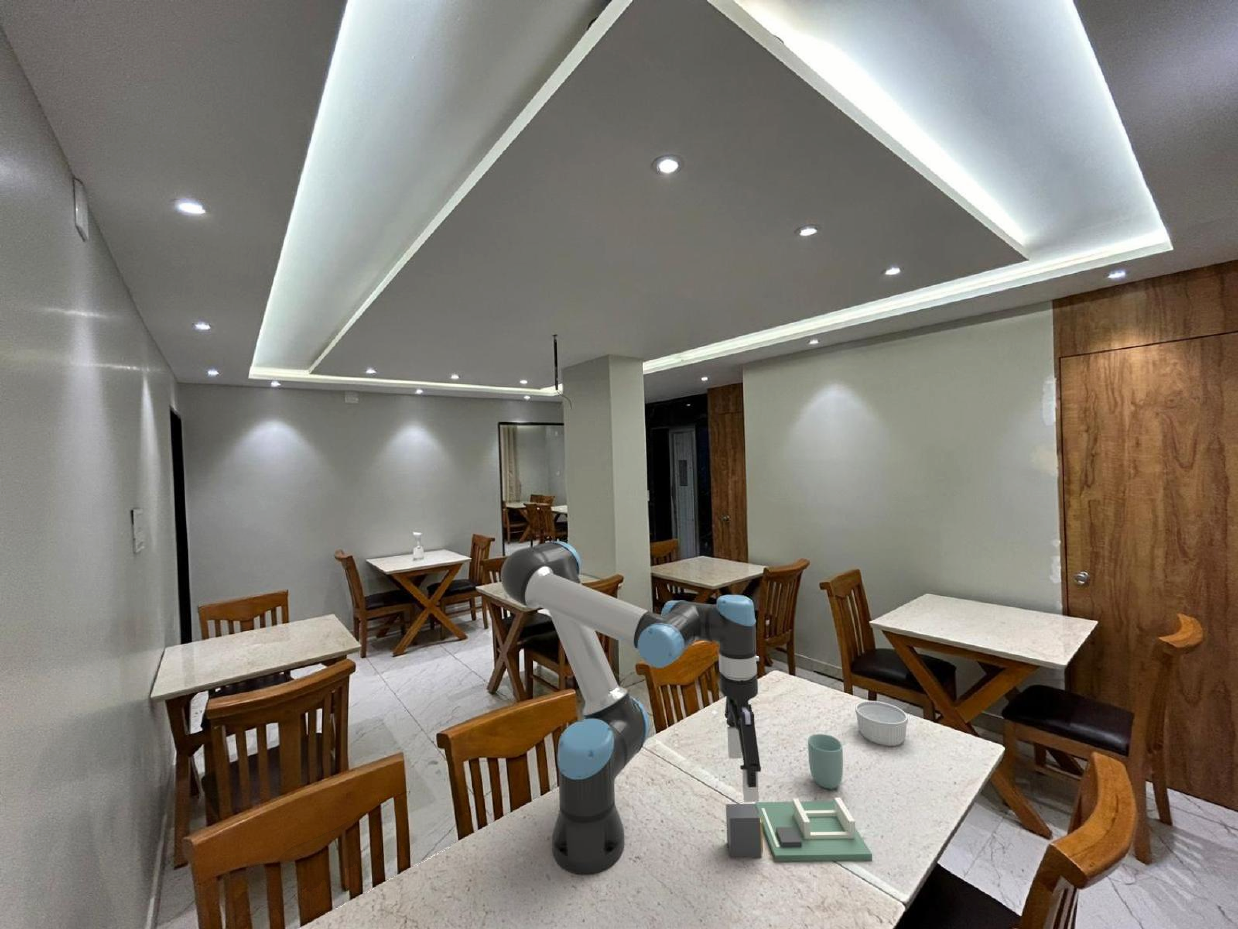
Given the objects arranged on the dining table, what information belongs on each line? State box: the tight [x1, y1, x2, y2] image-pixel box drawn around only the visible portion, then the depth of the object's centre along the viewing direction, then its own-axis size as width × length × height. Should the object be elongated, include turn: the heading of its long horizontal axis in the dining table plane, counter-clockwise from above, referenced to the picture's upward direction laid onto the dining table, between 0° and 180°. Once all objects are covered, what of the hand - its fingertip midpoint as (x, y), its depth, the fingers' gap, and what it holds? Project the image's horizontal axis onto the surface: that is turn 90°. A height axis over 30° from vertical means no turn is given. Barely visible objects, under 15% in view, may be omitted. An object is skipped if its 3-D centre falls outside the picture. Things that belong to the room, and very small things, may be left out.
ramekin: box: [855, 700, 909, 747], centre depth 137 cm, size 13×13×7 cm
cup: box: [807, 733, 844, 790], centre depth 117 cm, size 8×8×10 cm
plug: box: [725, 803, 764, 859], centre depth 98 cm, size 7×4×8 cm, turn 89°
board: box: [754, 797, 873, 863], centre depth 102 cm, size 19×15×5 cm
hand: (742, 777), depth 98 cm, fingers open, 13 cm apart
